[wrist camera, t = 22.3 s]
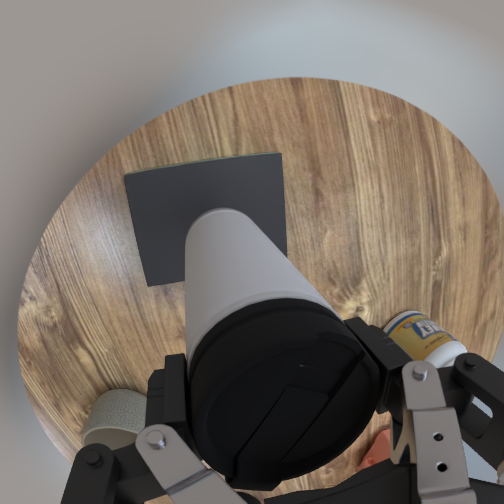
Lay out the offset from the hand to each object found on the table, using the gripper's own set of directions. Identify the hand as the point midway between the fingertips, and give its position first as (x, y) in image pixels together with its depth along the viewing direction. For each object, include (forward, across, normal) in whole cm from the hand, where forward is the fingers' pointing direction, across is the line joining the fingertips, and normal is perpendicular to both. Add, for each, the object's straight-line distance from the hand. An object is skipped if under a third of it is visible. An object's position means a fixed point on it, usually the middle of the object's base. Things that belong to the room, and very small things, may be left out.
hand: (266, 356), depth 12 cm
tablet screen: (+27, 0, 0) cm, 27 cm away
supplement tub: (+30, -31, +27) cm, 51 cm away
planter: (+30, +19, +29) cm, 46 cm away
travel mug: (+16, 0, 0) cm, 16 cm away
